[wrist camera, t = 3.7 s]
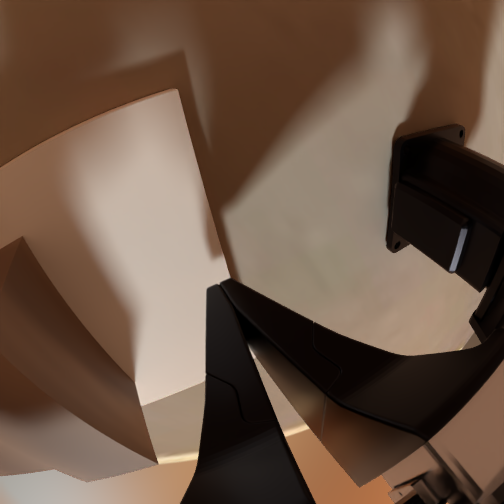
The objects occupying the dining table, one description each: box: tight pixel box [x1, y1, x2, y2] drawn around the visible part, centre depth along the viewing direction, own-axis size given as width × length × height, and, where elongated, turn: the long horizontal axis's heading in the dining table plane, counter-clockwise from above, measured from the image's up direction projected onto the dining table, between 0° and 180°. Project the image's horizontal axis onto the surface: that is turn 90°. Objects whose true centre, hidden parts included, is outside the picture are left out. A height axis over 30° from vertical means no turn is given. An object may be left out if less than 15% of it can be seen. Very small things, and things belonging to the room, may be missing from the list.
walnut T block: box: [0, 236, 158, 482], centre depth 7 cm, size 8×8×4 cm
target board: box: [0, 89, 256, 406], centre depth 9 cm, size 18×12×1 cm, turn 100°
